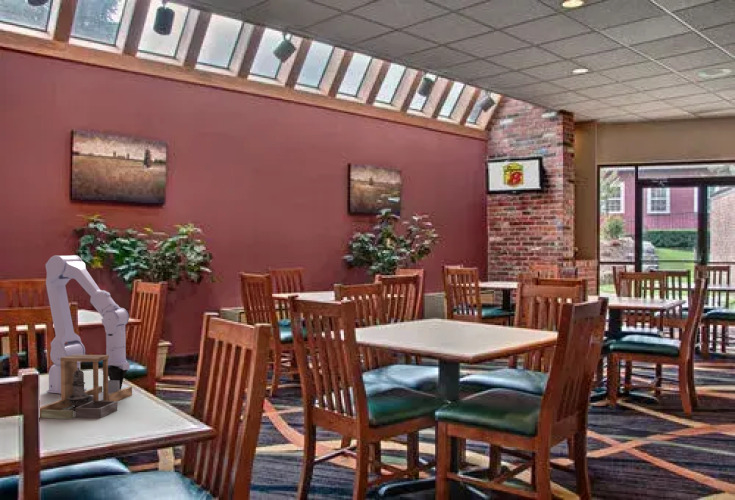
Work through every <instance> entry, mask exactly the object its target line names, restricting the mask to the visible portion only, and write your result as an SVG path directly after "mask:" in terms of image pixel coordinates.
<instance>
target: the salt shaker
mask: <svg viewBox="0 0 735 500" xmlns="http://www.w3.org/2000/svg"><path fill="white" fill-rule="evenodd" d="M77 369H78V370H77V371H75V372H74V373H73V383H72V385H73V393H72V395H71V396H69V397H68V399H69V403H70V404H71V405H72V406H70V407H69V409H68V410H73V412H75V408H76V407H78V406H81V405H84V404H86V403H87V402H88V400H89V397H90V395H87V394H85V391H86V390H84V388H85V384H86V382H85V376H84V375H85V372H84V371H83V370H81V369H80V370H79V367H78V368H77Z"/></svg>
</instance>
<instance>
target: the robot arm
mask: <svg viewBox="0 0 735 500" xmlns="http://www.w3.org/2000/svg"><path fill="white" fill-rule="evenodd" d="M45 270H46V278H45V286H46V292H47V297H48V302H49V307H50V312H51V318H52V323H53V329H54V334H55V337H54V338H53V339H52V340H51V341H50V353H49V356H50V360H51V362H52V363H53V364H52V365H51V366H50V368H49V370H48V389H47V390H46V393H53V394H60V395H61V361H60V358H62V357H65V356H69V355H86V348H85V345H84V344H83V343H82V340H81V337H80V335H78V334H77V333H76V332H75V330H74V329H75V328H74V326H73V325H74V324H73V320H72V315H71V309H70V305H69V298H68V293H67V288H66V285H67V284H68V283H69V281H70V280H72V279H73V280H76V282H77V283H78V284H79V285H80V286H81V288H83V290H85V292H86V293H87V294H88V295H89V296H90V298H89V299H90V302H89V303H90V304H91V305H92V306H93V307H94V309H96V311H97V312H98V314H99V315H100V316H101V317H102V318H101V324H102V325H103V326H104V331H105V344H106V349H105V350H106V353H105V355H109V359H108V380H119V385H120V390H122V388H123V382H124V378H125V375H126V373H127V372H128V370H130V366H131V365H130V362H128V361H127V357H126V356H127V353H126V349H127V348H126V345H127V344H126V342H127V341H126V325H127V324H128V322H129V320H130V315H129V312H128V310H127V309H125V308H124V307H120V306H119V304H118V303H116V302H115V301H114V299H113V297H111V293H110V292H109V291H107V290H104V289H103V290H102V289H100V287H99V286H98V285H97V283H96V282H95V280H94V278H93V277H92V276H91V274H90V272H88V270H87V268H86V263H85V262H84V261H83V259H82V258H81V257H80V256H79V255H76V254H73V255H58V254H57V255H53V256H51V257H50V258H48V261H47V262H46V263H45ZM78 367H79V370H80V371H81V362H77V368H78ZM77 370H78V369H77ZM87 390H88V389H87V388H86V387H84V391H87Z"/></svg>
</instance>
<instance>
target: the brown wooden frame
mask: <svg viewBox="0 0 735 500" xmlns="http://www.w3.org/2000/svg"><path fill="white" fill-rule="evenodd" d="M108 359H109V355H106V354H85V355H69V356H65V357H62V358H60V361H61V394H60V400H57V401H54V402H51V403H48V404H45V405H43V406H41V407H40V406H39V408H40V418H39V419H42V418H44V419H65V420H66V419H69V420H71V419H74V417H75V418H79V419H80V418H81V419H82V418H85V419H100V418H104V417H105V416H107V415H111V414H113V413H115V412H117V411H118V402H119V401H122V400H123V399H126V398H128V397H130V396H133V387H132V386H127V387H124V388H121V390H119V391H117V392H114V393H111V394H109V395H108V380H109V376H108V368H109V365H108ZM101 361H102V385H99V362H101ZM77 362H80V363H91V362H92V382H93V383H92V385H93V386H92V387H93V388H90V389H87V390H84V391H85V394H87V395H93V401H91V402H89V403H86V404H84V405H81V406H78V407H76V408H75V411H73V410H69V409H68V408H71V407H73V406H72V405H71V404H70V403H69V399H68V397H69V396H71V395H72V393H73V385H72V383H73V373H74V372H75V371H77ZM101 392H103V401H99V393H101ZM67 409H68V410H67Z"/></svg>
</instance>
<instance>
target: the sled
mask: <svg viewBox="0 0 735 500" xmlns="http://www.w3.org/2000/svg"><path fill="white" fill-rule="evenodd" d="M119 390H120V385H119V380H110V379H108V395H109V394H111V393H114V392H117V391H119ZM91 401H93V395H90V397H89V400H88V402H87V403H89V402H91ZM99 401H103V391H102V392H101V393H99Z"/></svg>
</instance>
